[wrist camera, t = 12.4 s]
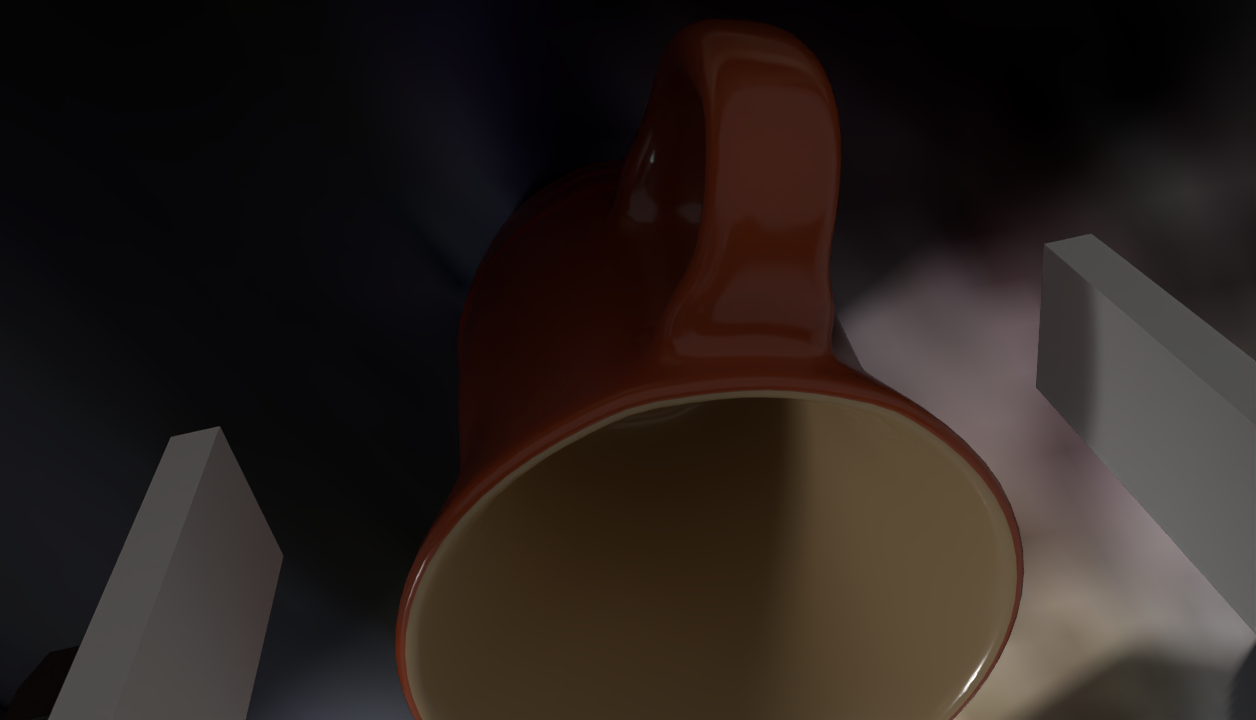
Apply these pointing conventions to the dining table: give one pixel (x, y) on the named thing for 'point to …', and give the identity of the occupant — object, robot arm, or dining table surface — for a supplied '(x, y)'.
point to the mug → (698, 445)
